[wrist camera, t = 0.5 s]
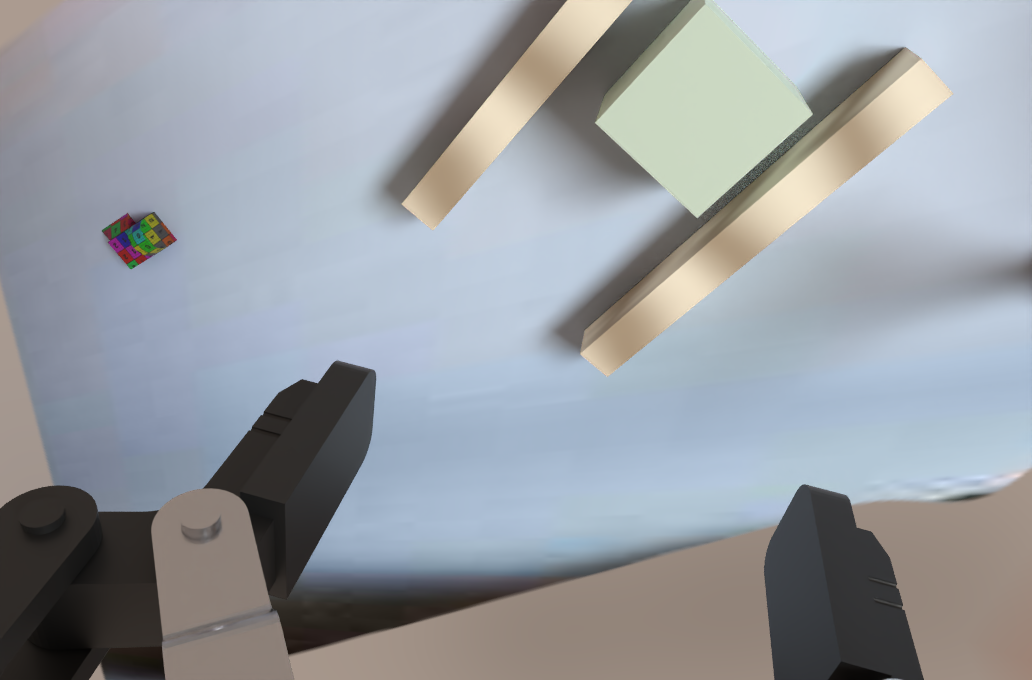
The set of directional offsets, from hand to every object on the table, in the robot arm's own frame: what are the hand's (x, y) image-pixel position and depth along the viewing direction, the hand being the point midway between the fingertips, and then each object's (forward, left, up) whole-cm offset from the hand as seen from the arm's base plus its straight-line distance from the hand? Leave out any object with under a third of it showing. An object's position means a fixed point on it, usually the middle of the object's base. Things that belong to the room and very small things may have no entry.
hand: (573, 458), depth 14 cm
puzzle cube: (+24, -16, -26) cm, 39 cm away
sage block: (-3, +1, -25) cm, 25 cm away
